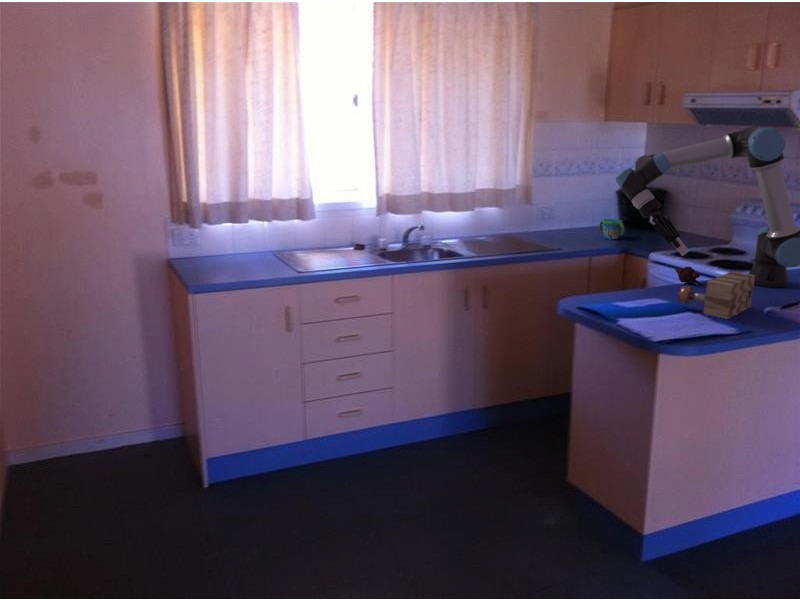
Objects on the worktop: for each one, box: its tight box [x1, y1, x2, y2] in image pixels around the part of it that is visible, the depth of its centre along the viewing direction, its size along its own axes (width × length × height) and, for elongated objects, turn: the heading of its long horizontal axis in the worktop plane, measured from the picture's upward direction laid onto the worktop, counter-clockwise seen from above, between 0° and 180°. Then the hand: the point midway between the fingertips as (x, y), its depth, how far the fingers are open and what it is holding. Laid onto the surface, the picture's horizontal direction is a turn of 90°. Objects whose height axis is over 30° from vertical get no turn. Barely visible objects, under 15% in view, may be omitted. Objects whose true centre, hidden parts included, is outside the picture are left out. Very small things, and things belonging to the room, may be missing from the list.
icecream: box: [674, 266, 701, 285], centre depth 291 cm, size 7×7×15 cm
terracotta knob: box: [678, 285, 706, 305], centre depth 250 cm, size 6×10×6 cm, turn 46°
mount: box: [702, 271, 755, 319], centre depth 249 cm, size 22×8×12 cm, turn 136°
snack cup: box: [598, 218, 625, 241], centre depth 386 cm, size 16×10×10 cm
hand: (685, 253), depth 264 cm, fingers closed
